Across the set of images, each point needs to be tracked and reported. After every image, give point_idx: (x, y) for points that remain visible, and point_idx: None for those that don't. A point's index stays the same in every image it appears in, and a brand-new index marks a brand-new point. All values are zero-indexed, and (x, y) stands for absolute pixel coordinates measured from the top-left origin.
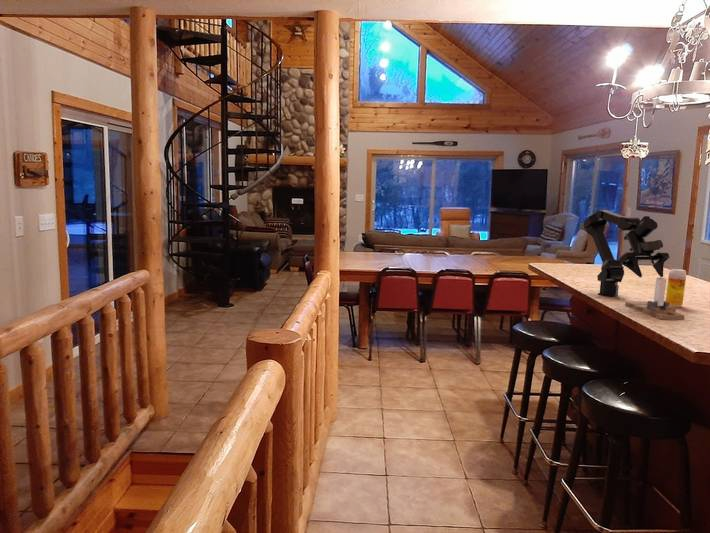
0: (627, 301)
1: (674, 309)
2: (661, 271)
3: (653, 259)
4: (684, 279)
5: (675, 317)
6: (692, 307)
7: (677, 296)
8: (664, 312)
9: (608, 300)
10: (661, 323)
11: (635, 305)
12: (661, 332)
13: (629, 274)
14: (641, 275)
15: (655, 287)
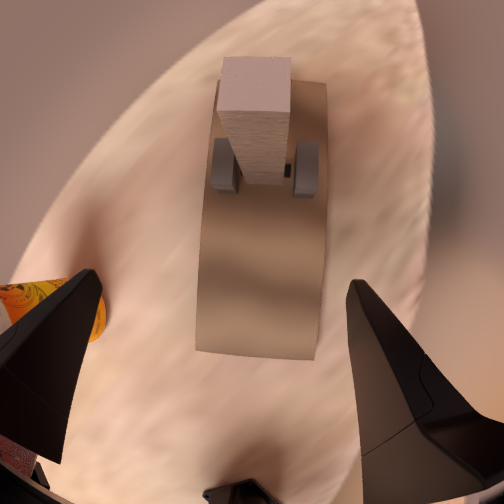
0: (301, 358)
1: None
2: (63, 299)
3: (25, 480)
4: None
5: None
6: (42, 273)
7: (62, 284)
8: None
9: (316, 438)
10: (359, 57)
11: (322, 272)
12: (409, 11)
13: None
14: (361, 282)
15: (286, 148)
